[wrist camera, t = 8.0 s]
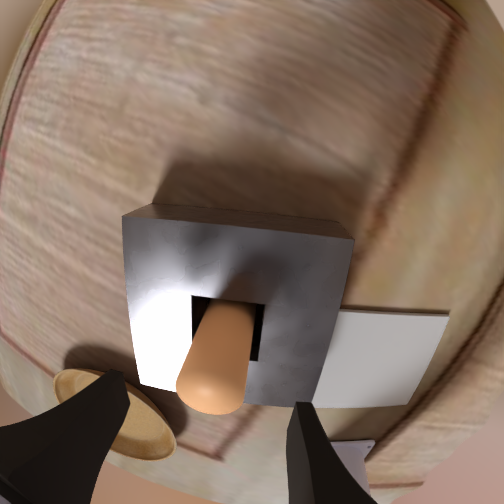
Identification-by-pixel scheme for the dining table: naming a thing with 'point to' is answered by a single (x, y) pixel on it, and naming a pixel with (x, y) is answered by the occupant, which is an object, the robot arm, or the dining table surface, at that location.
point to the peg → (218, 358)
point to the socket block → (235, 291)
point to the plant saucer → (136, 422)
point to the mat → (377, 358)
